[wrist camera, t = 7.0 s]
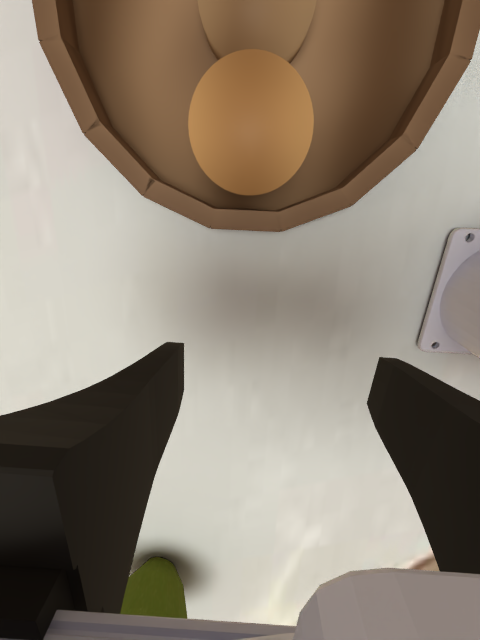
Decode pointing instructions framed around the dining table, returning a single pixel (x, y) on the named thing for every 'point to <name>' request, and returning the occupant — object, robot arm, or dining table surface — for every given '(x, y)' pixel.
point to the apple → (155, 591)
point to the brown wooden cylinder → (250, 122)
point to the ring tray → (276, 37)
